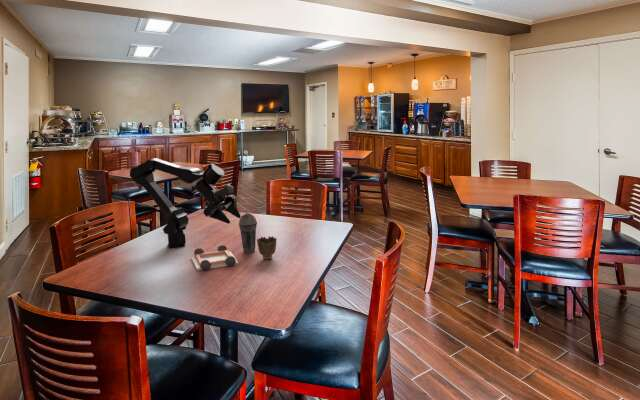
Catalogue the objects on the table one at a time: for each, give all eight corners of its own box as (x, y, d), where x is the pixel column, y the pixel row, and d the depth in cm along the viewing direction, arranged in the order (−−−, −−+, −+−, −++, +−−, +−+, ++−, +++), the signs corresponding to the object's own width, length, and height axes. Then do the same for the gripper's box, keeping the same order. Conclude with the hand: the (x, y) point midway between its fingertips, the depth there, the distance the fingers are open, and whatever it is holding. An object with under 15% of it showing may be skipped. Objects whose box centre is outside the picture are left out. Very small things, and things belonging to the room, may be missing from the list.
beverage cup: (260, 248, 173) (258, 201, 169) (255, 254, 166) (253, 205, 162) (243, 248, 173) (240, 201, 170) (237, 254, 166) (235, 205, 162)
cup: (277, 255, 164) (277, 235, 163) (276, 261, 157) (275, 241, 155) (258, 255, 164) (257, 236, 162) (256, 262, 157) (255, 241, 155)
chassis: (197, 271, 148) (196, 262, 147) (191, 258, 163) (190, 249, 162) (239, 265, 154) (238, 255, 153) (229, 252, 169) (229, 243, 168)
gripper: (208, 182, 158) (236, 212, 157) (231, 175, 176) (256, 202, 175) (191, 202, 162) (219, 231, 161) (215, 193, 179) (240, 219, 178)
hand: (235, 220), depth 169 cm, fingers open, 9 cm apart
